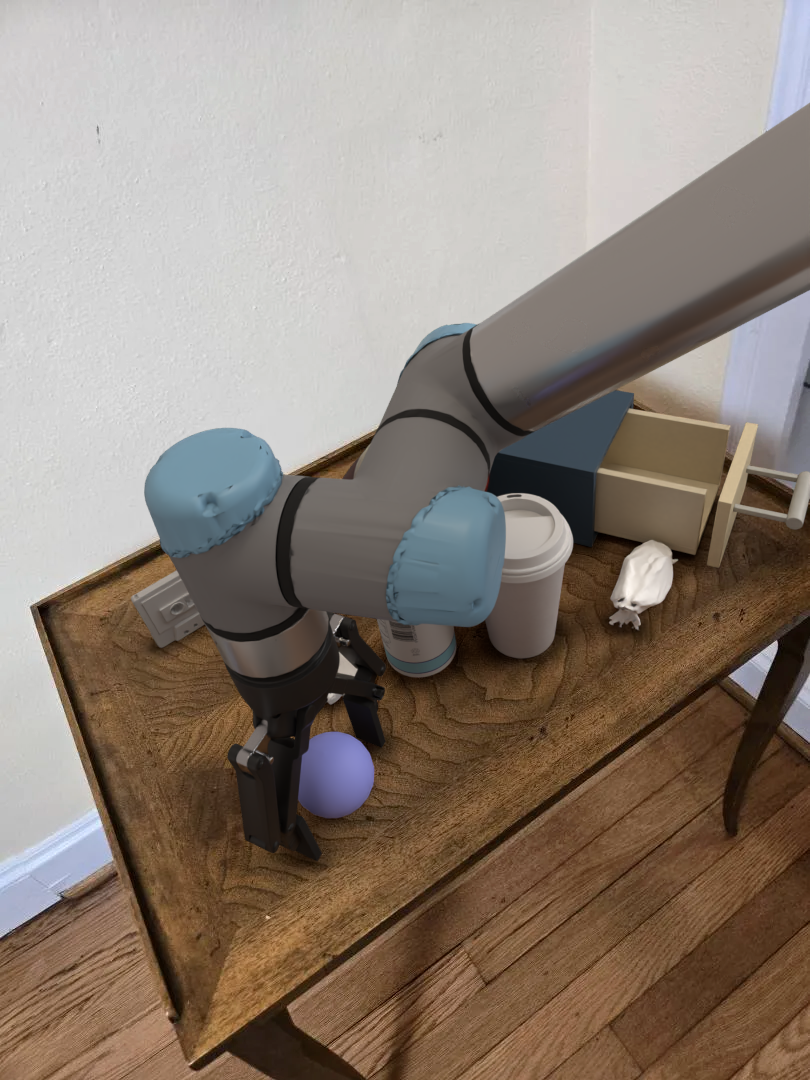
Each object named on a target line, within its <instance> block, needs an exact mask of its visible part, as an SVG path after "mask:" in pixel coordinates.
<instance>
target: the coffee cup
mask: <svg viewBox="0 0 810 1080" xmlns="http://www.w3.org/2000/svg"><path fill="white" fill-rule="evenodd" d="M497 498H498V499H499V500H500V502H501V503H502V506H503V509H504V513H505V523H506V545H505V558H504V565H503V568H502V576H501V585H500V589H499V593H498V597H497V600H496V603H495V606H494V608H493V610H492V612H491V613H490V614H489V616H488V617H487V618H486V619H485V620H484V622H485V624H486V625H485V626H486V630H487V634H488V638H489V641H490V642H491V644H492V646H493V647H494V648H495V649H496V650H497V651H498V652H499V653H501V654H503V655H505V656H507V657H510V658H513V659H529V658H533V657H536V656H539V655H541V654H542V653H544V652H545V651H546V650H548V649H549V648H550V647H551V646H552V643H553V641H554V639H555V635H556V629H557V621H558V615H559V608H560V602H561V594H562V587H563V579H564V573H565V566H566V563H567V562H568V561H569V558H570V557H571V555H572V552H573V548H574V543H573V536H572V532H571V529H570V527H569V525H568V523H567V521H566V520H565V518H564V517H563V516H562V514H561V513H560V512H559V510H558V509H557V508H556V507H555V506H554V505H553V504H552V503H550V502H549V501H547V500H545V499H543V498H541V497H539V496H535V495H531V494H524V493H513V494H506V495H501V496H498V497H497Z"/></svg>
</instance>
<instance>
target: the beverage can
mask: <svg viewBox="0 0 810 1080" xmlns="http://www.w3.org/2000/svg"><path fill="white" fill-rule="evenodd" d="M376 622H377V625H378V630H379V633H380V637H381V640H382V645H383V648H384V651H385V652H384V653H385V656H386V659H387V662H388V664H389V665H390V667H391V668H392V669H394V670H395V671H396V672H397V673H399V674H401V675H403V676H406V677H410V678H426V677H430V676H431V677H432V676H435V675H436V674H438V673H440V672H442V671H443V670H445V669H446V668H447V667H448V666H449V665H450V664H451V662H452V661H453V659H454V657H455V655H456V651H457V639H456V633H455V626H448V625H435V624H420V625H403V624H402V623H398V622H395V621H388V620H381V619H376Z"/></svg>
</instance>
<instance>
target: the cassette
mask: <svg viewBox="0 0 810 1080" xmlns="http://www.w3.org/2000/svg"><path fill="white" fill-rule="evenodd" d="M130 601H131V602H132V604H133V606H134V608H135V609H136V611H137V613H138V615H139V616H140V618H141V619H142V621H143V623H144V624H145V627H146V628H147V629H148V632H149V633H150V636H151V638H152V639H153V641H154V643H155V644H156V646H157V647H159V648H160V649H162V648H165V647H166V646H168V645H170V644H171V643H173V642H174V641H177V642H179V641H180V640H183V638H185V637H187V636H188V635H191V634H192V633H194V632H195V631H196V630H198V629H200V628H201V627H203V626H205V624H204V622H203V620H202V618H201V616H200V614H199V612H198V610H197V608H196V606H195V604H194V602H193V600H192V598H191V597H190V595H189V593H188V591H187V589H186V587H185V585H184V583H183V581H182V579H181V578H180V576H179V574H178V572H177V570H176V569H175V570H174V571H172V572H171V573H169V574H168V575H166V576H164V577H162V578H161V579H159V580H157V581H155V582H153V583H152V584H150V585H149V586H147V587H145V588H143V589H142V590H140V591H138V592H137V593H135V594H133V595H131V597H130Z"/></svg>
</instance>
